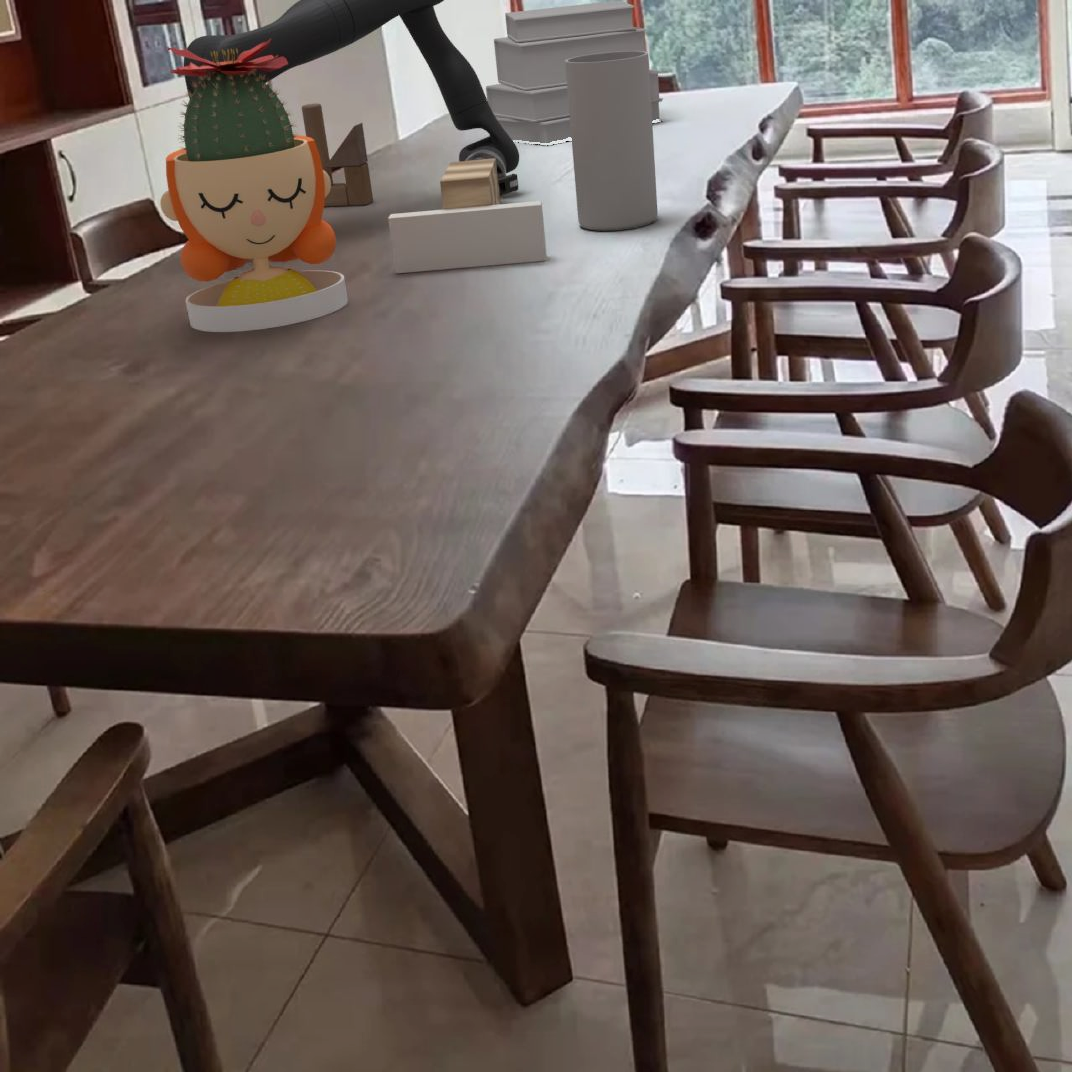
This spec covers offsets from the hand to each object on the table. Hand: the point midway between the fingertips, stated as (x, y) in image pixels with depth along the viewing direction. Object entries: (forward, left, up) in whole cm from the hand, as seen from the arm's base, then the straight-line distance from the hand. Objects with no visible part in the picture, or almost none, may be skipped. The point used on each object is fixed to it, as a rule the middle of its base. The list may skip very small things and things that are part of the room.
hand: (476, 196), depth 216 cm
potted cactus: (-40, -15, -7) cm, 43 cm away
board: (-9, -15, -6) cm, 19 cm away
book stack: (+64, +83, -7) cm, 105 cm away
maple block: (-4, -7, -6) cm, 10 cm away
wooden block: (-5, +48, -7) cm, 49 cm away
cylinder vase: (+20, -9, -7) cm, 23 cm away
